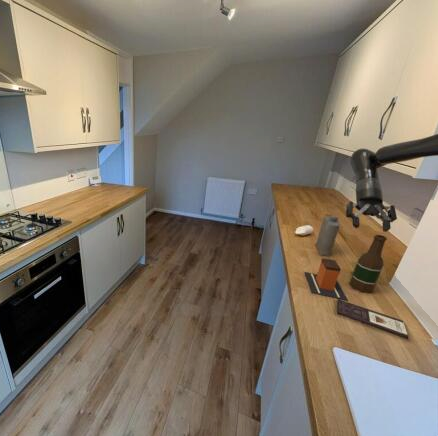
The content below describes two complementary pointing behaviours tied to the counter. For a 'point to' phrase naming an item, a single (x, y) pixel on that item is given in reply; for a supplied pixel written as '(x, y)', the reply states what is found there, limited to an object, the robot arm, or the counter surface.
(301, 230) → the roll
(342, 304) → the chocolate bar
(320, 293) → the mat
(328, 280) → the box
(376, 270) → the beer bottle
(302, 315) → the counter surface
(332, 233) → the flask
